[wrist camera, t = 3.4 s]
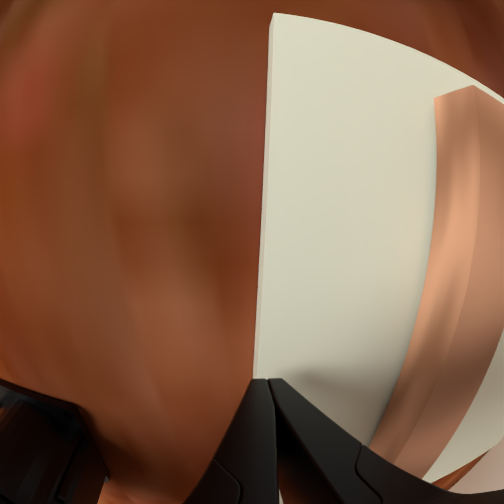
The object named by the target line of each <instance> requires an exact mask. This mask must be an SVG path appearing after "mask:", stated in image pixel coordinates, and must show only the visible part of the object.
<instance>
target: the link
mask: <svg viewBox="0 0 504 504" xmlns="http://www.w3.org/2000/svg"><path fill="white" fill-rule="evenodd" d="M434 108H435V121H436V146H437V170H436V196H435V210H434V221H433V230H432V239H431V246H430V253H429V260H428V266H427V272H426V277H425V283H424V288H423V292H422V297H421V302H420V306H419V310H418V314H417V318H416V322H415V326H414V330H413V333H412V337H411V341H410V344H409V347H408V351H407V354H406V357H405V360H404V363H403V366H402V369H401V372H400V375H399V378H398V381H397V383H396V386H395V389H394V391H393V394H392V397H391V399H390V402H389V404H388V407H387V409H386V411H385V414H384V416H383V418H382V421H381V423H380V425H379V427H378V429H377V432H376V434H375V436H374V438H373V440H372V442H371V444H370V446H369V449H371V450H372V451H374V452H375V453H376V454H378V455H379V456H381V457H382V458H384V459H385V460H387V461H388V462H390V463H392V464H394V465H395V466H397V467H399V468H401V469H403V470H404V471H406V472H408V473H410V474H412V475H414V476H416V477H418V478H420V479H422V478H423V477H424V476H425V474H426V473H427V472H428V471H429V469H430V468H431V467H432V465H433V464H434V463H435V461H436V460H437V458H438V457H439V456H440V454H441V453H442V451H443V450H444V449H445V447H446V446H447V444H448V443H449V441H450V439H451V438H452V436H453V435H454V433H455V432H456V430H457V428H458V427H459V425H460V423H461V422H462V420H463V418H464V416H465V415H466V413H467V411H468V409H469V407H470V406H471V404H472V402H473V400H474V398H475V396H476V394H477V392H478V390H479V388H480V386H481V384H482V382H483V380H484V377H485V375H486V373H487V371H488V368H489V366H490V364H491V361H492V359H493V356H494V354H495V351H496V349H497V346H498V343H499V341H500V338H501V335H502V332H503V329H504V104H503V103H501V102H500V101H498V100H497V99H495V98H494V97H492V96H491V95H489V94H487V93H486V92H484V91H483V90H481V89H479V88H478V87H476V86H474V85H471V86H468V87H465V88H461V89H458V90H455V91H452V92H449V93H447V94H444V95H441V96H438V97H435V98H434Z"/></svg>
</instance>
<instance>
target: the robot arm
mask: <svg viewBox="0 0 504 504" xmlns="http://www.w3.org/2000/svg"><path fill="white" fill-rule="evenodd" d="M110 477H111V475H110V473H109V472H108V470H107V468H106V466H105V464H104V463H103V461H102V459H101V457H100V455H99V453H98V451H97V449H96V447H95V445H94V443H93V441H92V439H91V437H90V435H89V433H88V431H87V428H86V426H85V424H84V422H83V419H82V417H81V415H80V412H79V411H78V410H77V409H76V407H74V406H73V405H71V404H69V403H66V402H62V401H58V400H55V399H52V398H48V397H45V396H42V395H39V394H36V393H33V392H30V391H27V390H25V389H22V388H19V387H17V386H14V385H11V384H9V383H6V382H4V381H2V380H0V504H97V503H98V499H99V496H100V493H101V490H102V487H103V483H104V482H109V480H110ZM279 490H280V494H281V498H282V501H283V504H504V489H502V490H497V491H490V492H484V493H476V494H460V493H454V492H450V491H447V490H444V489H442V488H440V487H437V486H435V485H433V484H431V483H429V482H427V481H424V480H422V479H420V478H418V477H416V476H414V475H412V474H410V473H408V472H406V471H404V470H403V469H401V468H399V467H397V466H395V465H394V464H392V463H390V462H388V461H387V460H385V459H384V458H382V457H381V456H379V455H378V454H376V453H375V452H374V451H372V450H371V449H369V448H368V447H367V446H365V445H362V443H361V442H360V441H359V440H357V439H356V438H355V437H353V436H352V435H351V434H349V433H348V432H347V431H345V430H344V429H343V428H342V427H340V426H339V425H338V424H337V423H335V422H334V421H333V420H332V419H330V418H329V417H328V416H327V415H325V414H324V413H323V412H322V411H320V410H319V409H318V408H317V407H316V406H314V405H313V404H312V403H311V402H310V401H308V400H307V399H306V398H305V397H304V396H302V395H301V394H300V393H299V392H298V391H297V390H295V389H294V388H293V387H292V386H291V385H290V384H288V383H287V382H286V381H285V380H284V379H282V378H268V379H267V380H266V379H265V378H254V379H252V380H251V381H250V383H249V385H248V387H247V389H246V392H245V394H244V396H243V398H242V400H241V402H240V404H239V406H238V408H237V410H236V412H235V414H234V416H233V418H232V421H231V423H230V425H229V427H228V429H227V431H226V433H225V434H224V436H223V438H222V440H221V442H220V444H219V446H218V448H217V450H216V452H215V454H214V456H213V459H212V460H211V461H210V463H209V465H208V467H207V469H206V470H205V472H204V474H203V475H202V477H201V479H200V480H199V482H198V484H197V485H196V487H195V488H194V489H193V491H192V492H191V493H190V495H189V496H188V497H187V499H186V500H185V501H184V502H183V504H280V500H279Z"/></svg>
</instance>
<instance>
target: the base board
mask: <svg viewBox="0 0 504 504" xmlns="http://www.w3.org/2000/svg"><path fill="white" fill-rule="evenodd" d="M471 85H474V86H476V87H478V88H479V89H481V90H483V91H484V92H486V93H487V94H489V95H491V96H492V97H494V98H495V99H497V100H498V101H500V102H501V103H503V104H504V99H503V98H502V97H501V96H499V95H498V94H496V93H495V92H493V91H492V90H490V89H489V88H487V87H486V86H484V85H482V84H481V83H479V82H478V81H476V80H474V79H473V78H471V77H469V76H467V75H466V74H464V73H462V72H460V71H458V70H457V69H455V68H453V67H451V66H449V65H447V64H445V63H443V62H441V61H439V60H437V59H435V58H433V57H431V56H429V55H426V54H424V53H422V52H420V51H417V50H415V49H413V48H410V47H408V46H405V45H403V44H400V43H397V42H395V41H392V40H389V39H386V38H384V37H381V36H378V35H375V34H371V33H368V32H365V31H362V30H358V29H355V28H351V27H347V26H343V25H339V24H335V23H331V22H327V21H322V20H317V19H312V18H306V17H301V16H294V15H288V14H280V13H274V14H273V17H272V21H271V24H270V28H269V54H268V81H267V107H266V131H265V154H264V176H263V197H262V218H261V238H260V258H259V277H258V295H257V313H256V331H255V348H254V365H253V379H254V378H265V379H266V380H267V379H268V378H282V379H284V380H285V381H286V382H287V383H288V384H290V385H291V386H292V387H293V388H294V389H295V390H297V391H298V392H299V393H300V394H301V395H302V396H304V397H305V398H306V399H307V400H308V401H310V402H311V403H312V404H313V405H314V406H316V407H317V408H318V409H319V410H320V411H322V412H323V413H324V414H325V415H327V416H328V417H329V418H330V419H332V420H333V421H334V422H335V423H337V424H338V425H339V426H340V427H342V428H343V429H344V430H345V431H347V432H348V433H349V434H351V435H352V436H353V437H355V438H356V439H357V440H359V441H360V442H361V443H362V445H365V446H367V447H368V448H369V446H370V444H371V442H372V440H373V438H374V436H375V434H376V432H377V429H378V427H379V425H380V423H381V421H382V418H383V416H384V414H385V411H386V409H387V407H388V404H389V402H390V399H391V397H392V394H393V391H394V389H395V386H396V383H397V381H398V378H399V375H400V372H401V369H402V366H403V363H404V360H405V357H406V354H407V351H408V347H409V344H410V341H411V337H412V333H413V330H414V326H415V322H416V318H417V314H418V310H419V306H420V302H421V297H422V292H423V288H424V283H425V277H426V272H427V266H428V260H429V253H430V246H431V239H432V230H433V221H434V210H435V196H436V170H437V146H436V121H435V108H434V98H435V97H438V96H441V95H444V94H447V93H449V92H452V91H455V90H458V89H461V88H465V87H468V86H471ZM503 436H504V329H503V332H502V335H501V338H500V341H499V343H498V346H497V349H496V351H495V354H494V356H493V359H492V361H491V364H490V366H489V368H488V371H487V373H486V375H485V377H484V380H483V382H482V384H481V386H480V388H479V390H478V392H477V394H476V396H475V398H474V400H473V402H472V404H471V406H470V407H469V409H468V411H467V413H466V415H465V416H464V418H463V420H462V422H461V423H460V425H459V427H458V428H457V430H456V432H455V433H454V435H453V436H452V438H451V439H450V441H449V443H448V444H447V446H446V447H445V449H444V450H443V451H442V453H441V454H440V456H439V457H438V458H437V460H436V461H435V463H434V464H433V465H432V467H431V468H430V469H429V471H428V472H427V473H426V474H425V476H424V477H423V478H422V480H424V481H427V482H429V483H432V482H434V481H436V480H438V479H440V478H442V477H444V476H446V475H448V474H450V473H452V472H453V471H455V470H457V469H459V468H461V467H462V466H464V465H466V464H467V463H469V462H471V461H472V460H474V459H476V458H477V457H479V456H480V455H482V454H483V453H485V452H486V451H488V450H489V449H491V448H492V447H494V446H495V445H496V444H498V443H499V442H500V441H501V439H502V438H503ZM279 500H280V504H283V501H282V498H281V494H280V490H279Z"/></svg>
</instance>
